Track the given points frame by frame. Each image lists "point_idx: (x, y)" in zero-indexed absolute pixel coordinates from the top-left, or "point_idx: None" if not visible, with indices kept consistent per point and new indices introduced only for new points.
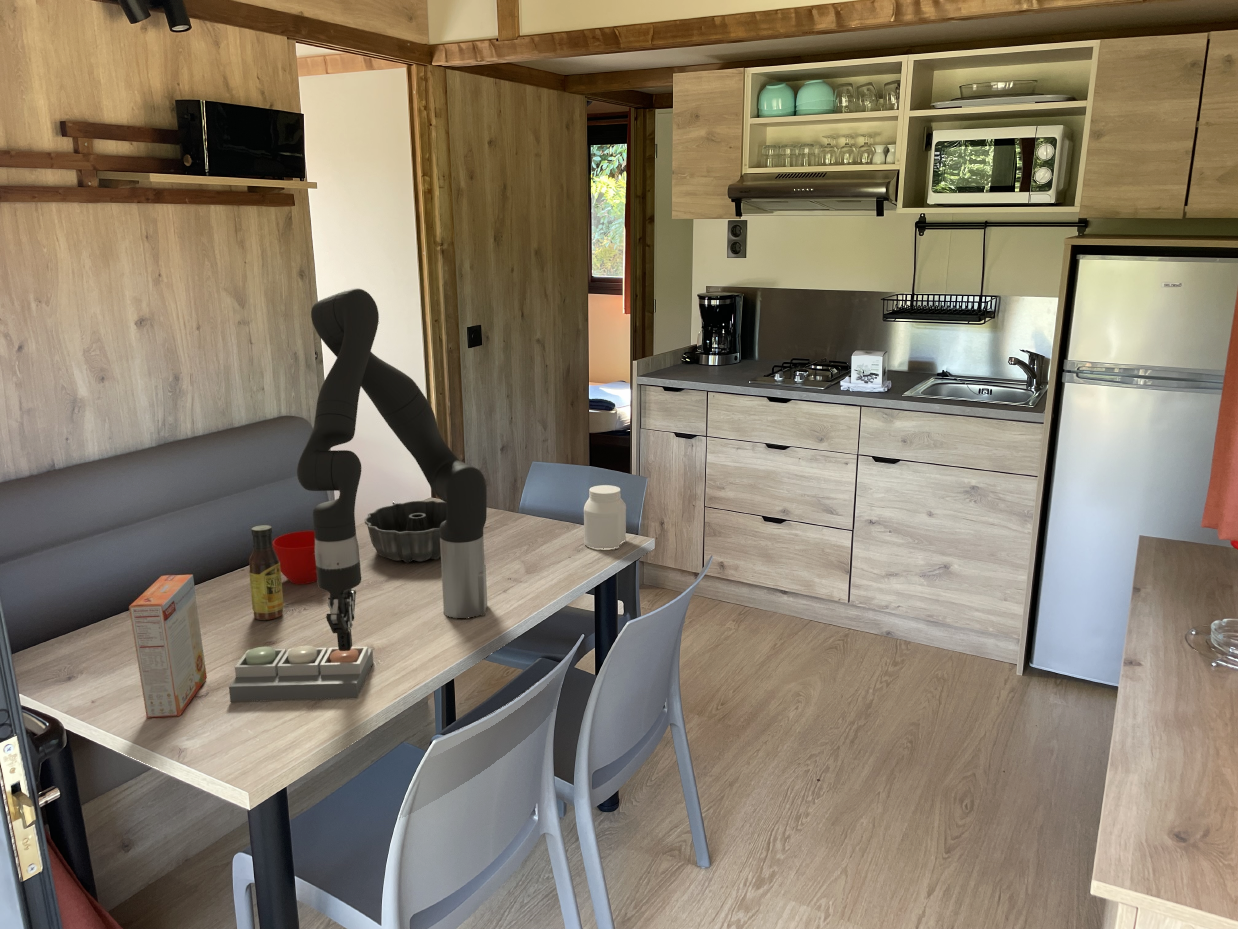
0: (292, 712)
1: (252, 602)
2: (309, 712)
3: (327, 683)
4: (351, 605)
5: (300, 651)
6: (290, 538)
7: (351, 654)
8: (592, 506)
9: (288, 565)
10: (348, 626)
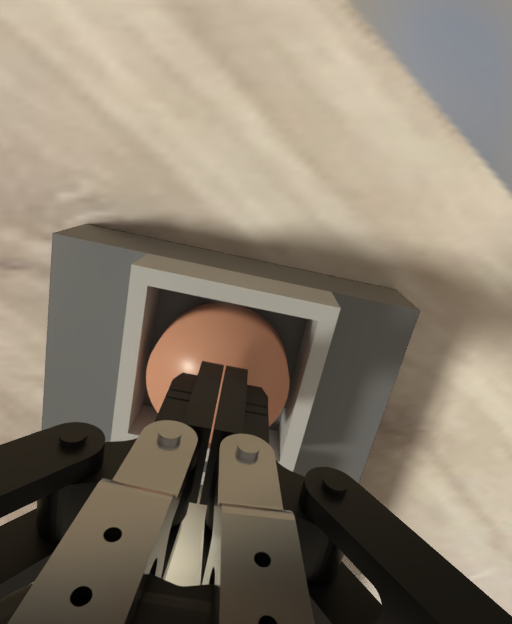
0: (412, 484)
1: None
2: (434, 439)
3: (378, 420)
4: (132, 614)
5: (179, 568)
6: None
7: (230, 349)
8: None
9: None
10: (270, 476)
